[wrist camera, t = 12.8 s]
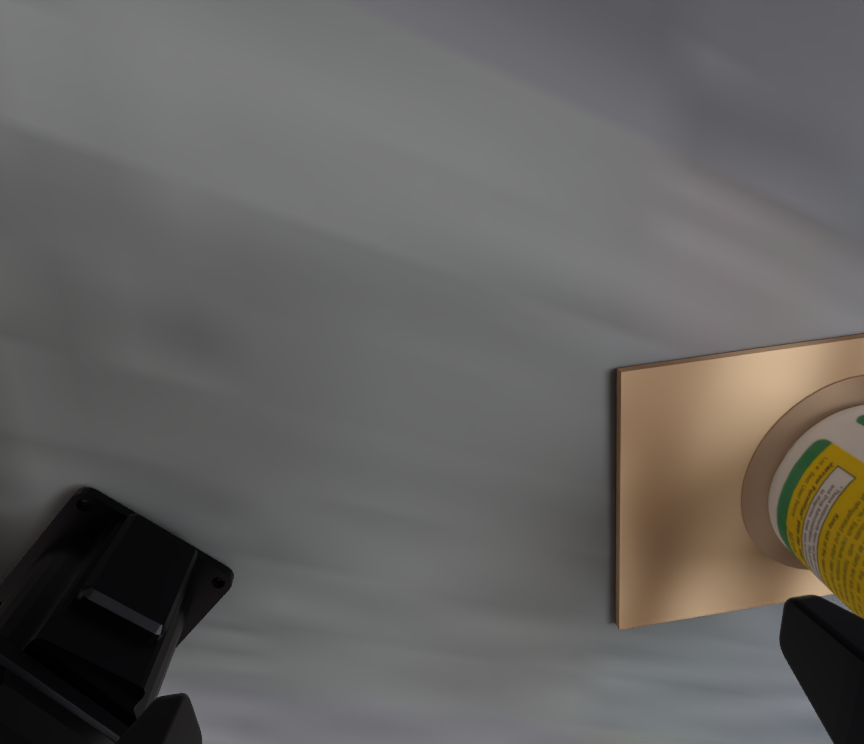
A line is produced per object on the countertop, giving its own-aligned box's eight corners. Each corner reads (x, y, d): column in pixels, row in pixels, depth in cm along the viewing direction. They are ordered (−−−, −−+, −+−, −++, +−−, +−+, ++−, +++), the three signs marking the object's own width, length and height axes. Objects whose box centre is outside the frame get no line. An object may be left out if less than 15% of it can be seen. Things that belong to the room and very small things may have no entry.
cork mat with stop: (615, 623, 26) (675, 735, 21) (616, 368, 22) (692, 433, 17) (959, 565, 27) (1094, 660, 22) (1025, 310, 23) (1211, 356, 18)
